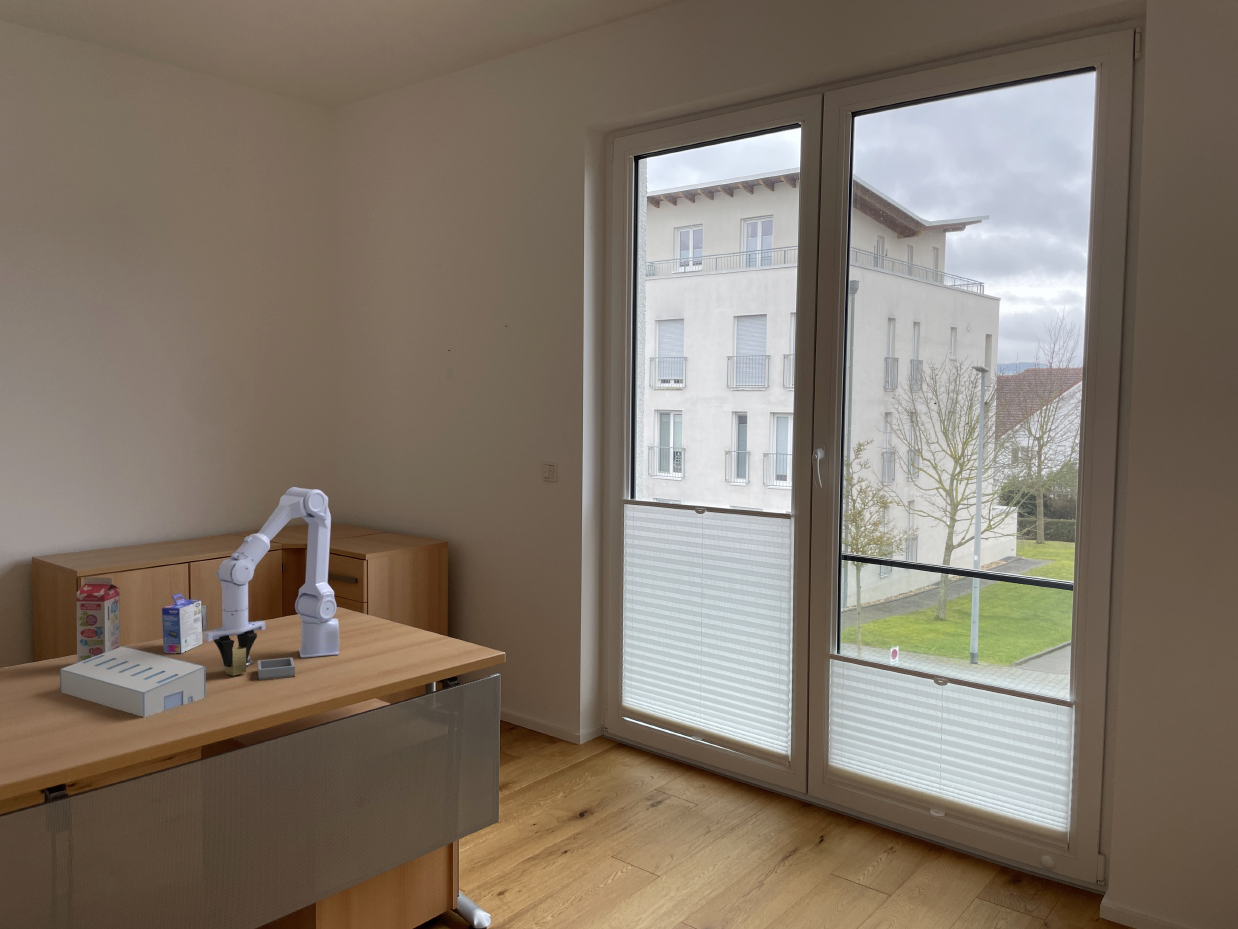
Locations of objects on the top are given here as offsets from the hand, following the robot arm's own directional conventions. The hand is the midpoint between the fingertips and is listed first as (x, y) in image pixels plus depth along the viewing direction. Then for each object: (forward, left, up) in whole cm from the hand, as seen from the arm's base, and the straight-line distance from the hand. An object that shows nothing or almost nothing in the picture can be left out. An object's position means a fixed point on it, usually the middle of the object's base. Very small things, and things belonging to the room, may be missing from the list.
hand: (235, 664), depth 208 cm
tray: (-9, +2, -2) cm, 10 cm away
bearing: (-1, -9, -2) cm, 9 cm away
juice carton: (+31, -19, -3) cm, 36 cm away
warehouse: (+21, +8, -3) cm, 23 cm away
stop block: (0, 0, -2) cm, 2 cm away
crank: (0, -6, -2) cm, 7 cm away
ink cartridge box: (+13, -29, -3) cm, 31 cm away
